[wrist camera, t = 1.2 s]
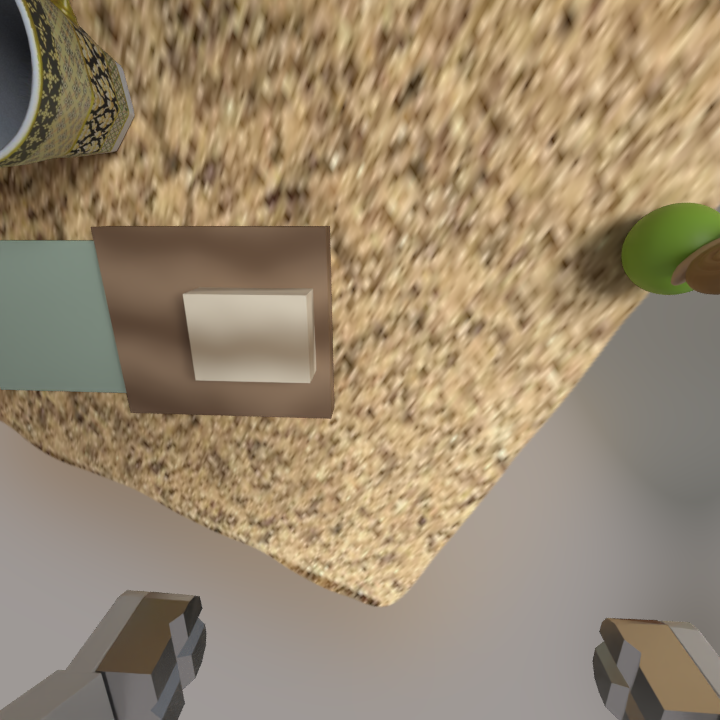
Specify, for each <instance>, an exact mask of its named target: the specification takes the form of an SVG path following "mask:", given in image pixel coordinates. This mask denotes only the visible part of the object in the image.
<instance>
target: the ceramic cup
mask: <svg viewBox="0 0 720 720" xmlns="http://www.w3.org/2000/svg"><path fill="white" fill-rule="evenodd" d="M76 19H77V18H76V17H75V15H74V13H73V11H72V8H71V6H70V3H69V0H0V168H2V167H11V166H19V165H26V164H31V163H36V162H40V161H44V160H48V159H54V158H71V157H80V156H88V155H96V154H103V153H110V152H115V151H117V149H118V148H119V146H120V144H121V142H122V140H123V138H124V136H125V134H126V132H127V130H128V128H129V126H130V124H131V122H132V120H133V118H134V110H133V106H132V102H131V98H130V94H129V90H128V86H127V82H126V78H125V75H124V71H123V69H122V67H121V66H120V65H119V64H118V63H117V62H116V61H115V60H113V59H112V58H111V57H110V56H109V55H108V54H107V53H106V52H105V51H103V50H102V49H101V48H100V47H99V46H98V45H97V44H96V43H95V42H94V41H93V40H92V39H91V38H90V37H89V36H88V34H87V33H86V32H85V31H84V30H83V29H82V28H81V27H80V26H79V25H78V24H77V21H76Z"/></svg>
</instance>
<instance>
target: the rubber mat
mask: <svg viewBox="0 0 720 720" xmlns="http://www.w3.org/2000/svg"><path fill="white" fill-rule="evenodd" d="M0 388H1V390H38V391H75V392H113V393H126V388H125V384H124V379H123V374H122V370H121V365H120V360H119V356H118V351H117V346H116V342H115V337H114V333H113V328H112V323H111V319H110V314H109V309H108V305H107V300H106V295H105V291H104V286H103V282H102V277H101V272H100V268H99V263H98V258H97V254H96V249H95V244H94V240H0Z"/></svg>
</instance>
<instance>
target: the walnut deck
mask: <svg viewBox="0 0 720 720" xmlns="http://www.w3.org/2000/svg"><path fill="white" fill-rule="evenodd" d="M91 231H92V235H93V240H94V244H95V249H96V254H97V258H98V263H99V268H100V272H101V277H102V282H103V286H104V291H105V295H106V300H107V305H108V309H109V314H110V319H111V323H112V328H113V333H114V337H115V342H116V346H117V351H118V356H119V360H120V365H121V370H122V374H123V379H124V384H125V388H126V393H127V397H128V402H129V407H130V411H131V413H161V414H194V415H228V416H261V417H295V418H328V419H331V417H332V414H333V410H334V373H333V333H332V294H331V254H330V226H103V227H91ZM199 287H216V288H313V301H314V326H315V350H316V372H315V374H314V376H313V378H312V380H311V383H281V382H241V381H200V380H196V379H195V372H194V366H193V359H192V353H191V346H190V339H189V333H188V326H187V319H186V313H185V306H184V299H183V294H184V293H187V292H189V291H192V290H194V289H197V288H199Z"/></svg>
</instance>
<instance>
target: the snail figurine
mask: <svg viewBox="0 0 720 720" xmlns="http://www.w3.org/2000/svg"><path fill="white" fill-rule="evenodd" d="M621 260H622V265H623V268H624V271H625V273H626V275H627V276H628V277H629V279H630V280H631V281H632V282H633V283H634V284H636V285H637V286H638V287H640V288H642V289H644V290H646V291H648V292H652V293H656V294H662V295H675V294H682V293H686V292H690V291H693V290H695V291H697V292H700V293H704V294H714V295H719V294H720V213H719V212H717V211H716V210H714V209H712V208H710V207H708V206H705V205H701V204H696V203H677V204H671V205H667V206H664V207H661V208H659V209H656V210H654V211H652V212H651V213H649V214H647V215H646V216H644V217H643V218H642V219H640V220H639V221H638V222H637V223H636V224H635V225H634V226H633V228H632V229H631V230H630V232H629V233H628V235H627V236H626V238H625V241H624V243H623V247H622V253H621Z"/></svg>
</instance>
